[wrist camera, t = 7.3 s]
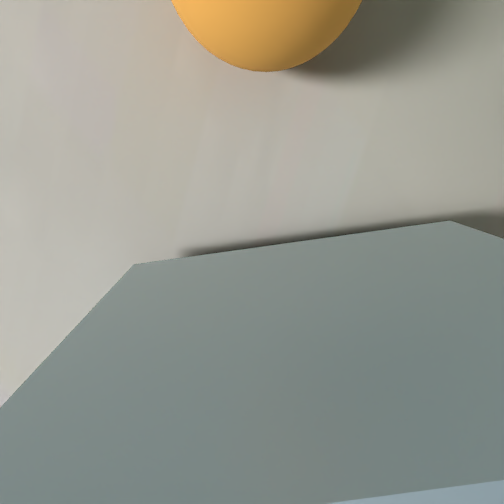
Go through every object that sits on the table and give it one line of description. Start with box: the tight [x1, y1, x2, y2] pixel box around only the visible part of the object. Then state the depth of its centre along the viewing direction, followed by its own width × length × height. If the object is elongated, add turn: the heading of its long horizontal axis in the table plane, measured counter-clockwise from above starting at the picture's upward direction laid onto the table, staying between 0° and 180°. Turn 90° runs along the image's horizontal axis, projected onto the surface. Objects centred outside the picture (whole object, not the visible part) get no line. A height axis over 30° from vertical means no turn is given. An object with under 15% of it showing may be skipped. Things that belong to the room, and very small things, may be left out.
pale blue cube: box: [0, 221, 504, 504], centre depth 9 cm, size 10×10×9 cm
